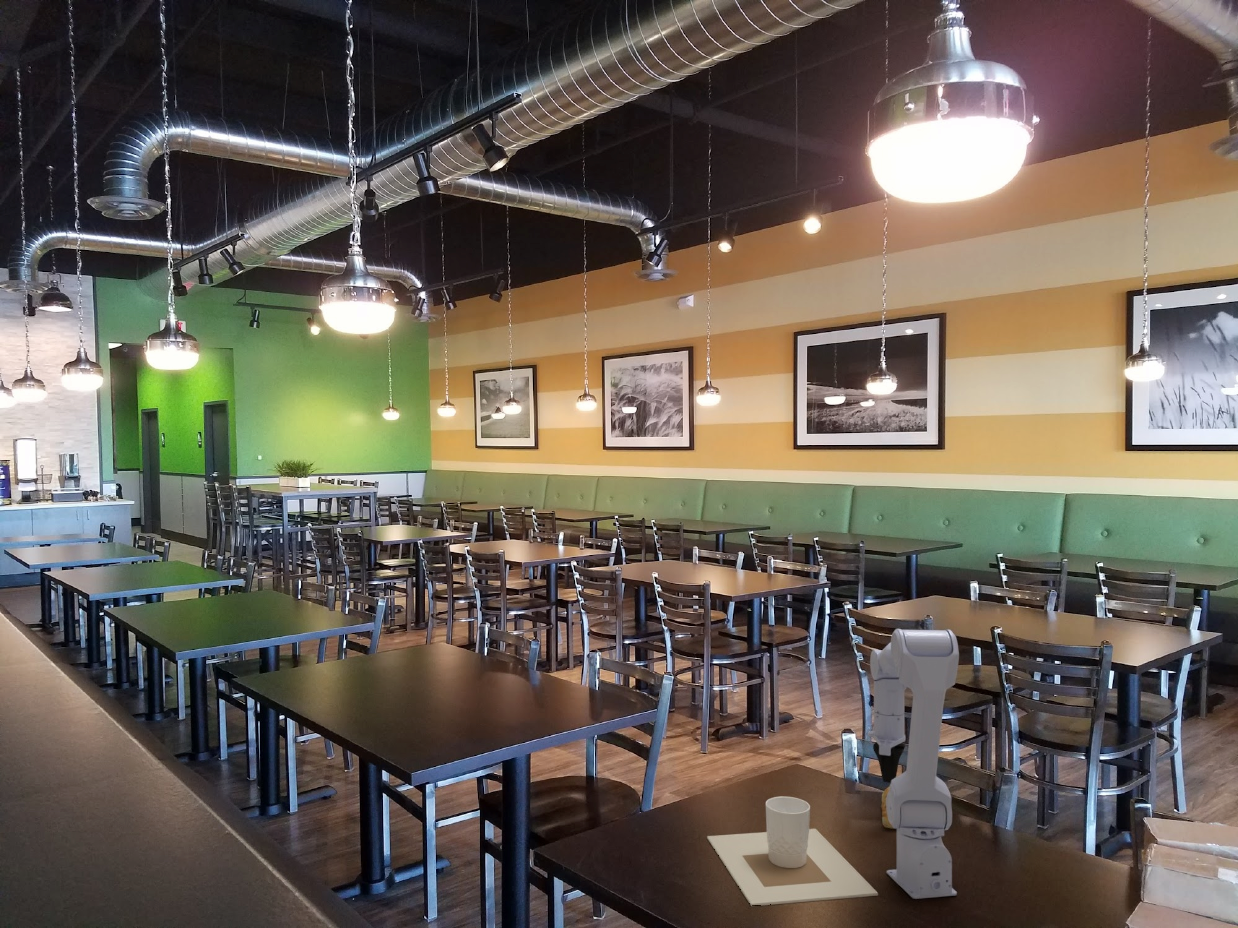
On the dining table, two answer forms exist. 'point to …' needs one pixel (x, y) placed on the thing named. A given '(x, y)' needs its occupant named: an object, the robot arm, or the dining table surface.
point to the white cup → (787, 831)
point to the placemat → (788, 871)
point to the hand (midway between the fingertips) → (889, 781)
